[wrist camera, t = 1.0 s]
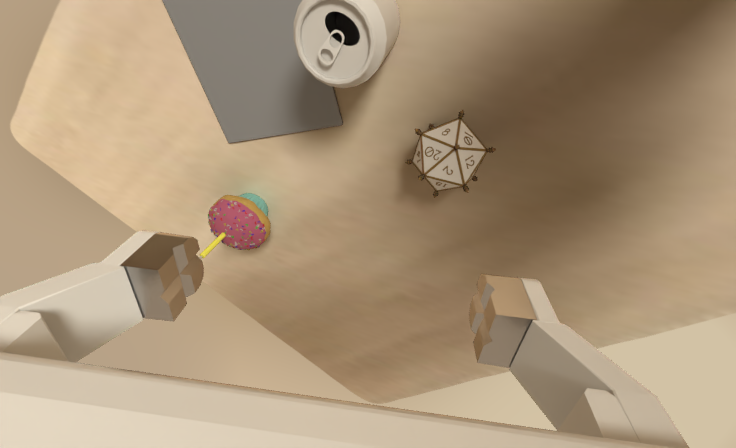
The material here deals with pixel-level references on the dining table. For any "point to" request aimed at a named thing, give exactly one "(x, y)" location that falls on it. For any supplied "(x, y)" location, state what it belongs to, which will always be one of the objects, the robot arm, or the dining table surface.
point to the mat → (252, 67)
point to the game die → (448, 155)
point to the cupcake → (239, 222)
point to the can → (345, 38)
